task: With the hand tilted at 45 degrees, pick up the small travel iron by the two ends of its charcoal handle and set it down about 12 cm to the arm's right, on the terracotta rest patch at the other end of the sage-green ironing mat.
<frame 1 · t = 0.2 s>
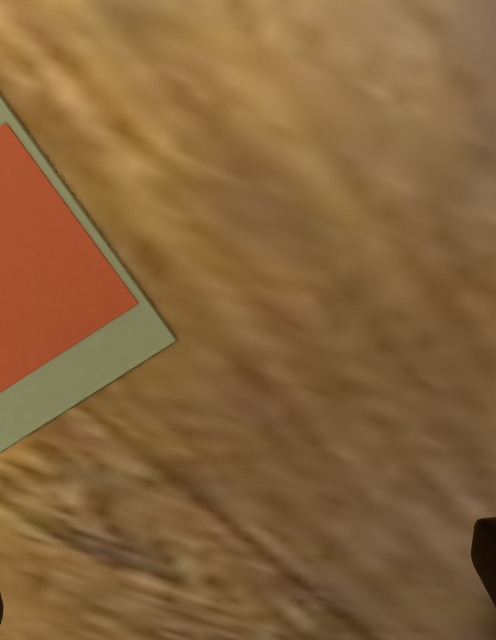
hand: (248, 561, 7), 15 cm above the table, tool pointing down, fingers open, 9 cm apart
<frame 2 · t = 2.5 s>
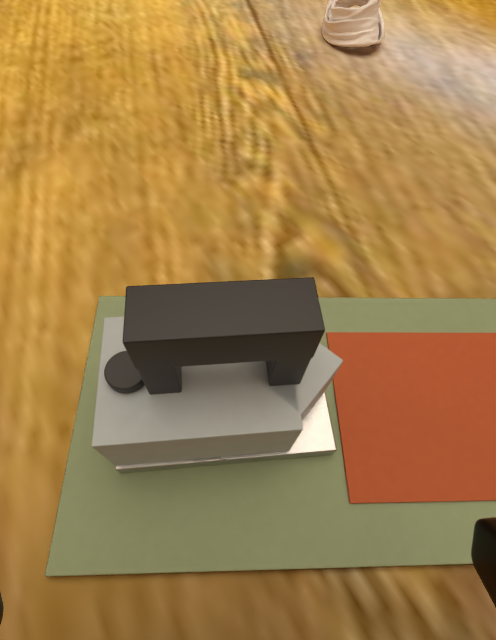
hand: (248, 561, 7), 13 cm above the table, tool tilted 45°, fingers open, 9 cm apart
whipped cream: (350, 39, 45), on the table
ironing mat: (330, 412, 23), on the table
iron: (224, 404, 22), resting on ironing mat
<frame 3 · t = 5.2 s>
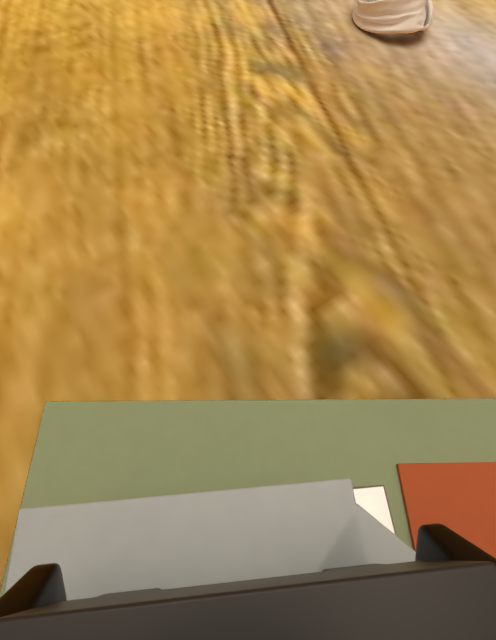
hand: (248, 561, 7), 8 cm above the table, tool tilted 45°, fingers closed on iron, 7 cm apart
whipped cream: (387, 25, 36), on the table
ironing mat: (413, 611, 14), on the table
iron: (240, 606, 13), point 1 cm above the table, touching gripper, ironing mat
when the fingers open (8 cm above the table, at t = 10.7 s): iron stays where it is, resting on ironing mat.
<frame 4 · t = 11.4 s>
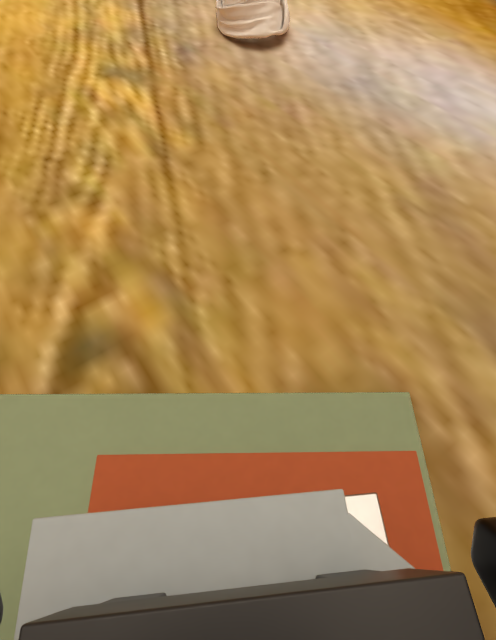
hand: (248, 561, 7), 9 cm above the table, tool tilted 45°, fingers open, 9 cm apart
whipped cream: (252, 30, 36), on the table
ironing mat: (74, 594, 15), on the table
iron: (239, 608, 14), point 1 cm above the table, touching ironing mat
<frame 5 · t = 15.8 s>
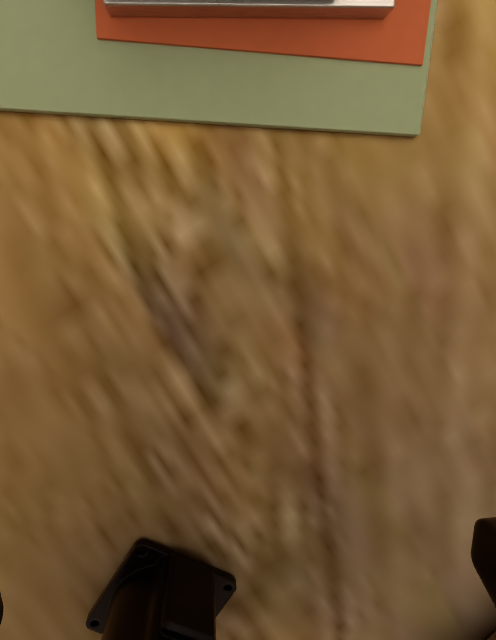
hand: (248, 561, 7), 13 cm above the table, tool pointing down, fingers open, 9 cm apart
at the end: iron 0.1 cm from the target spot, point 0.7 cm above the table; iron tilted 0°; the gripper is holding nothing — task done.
